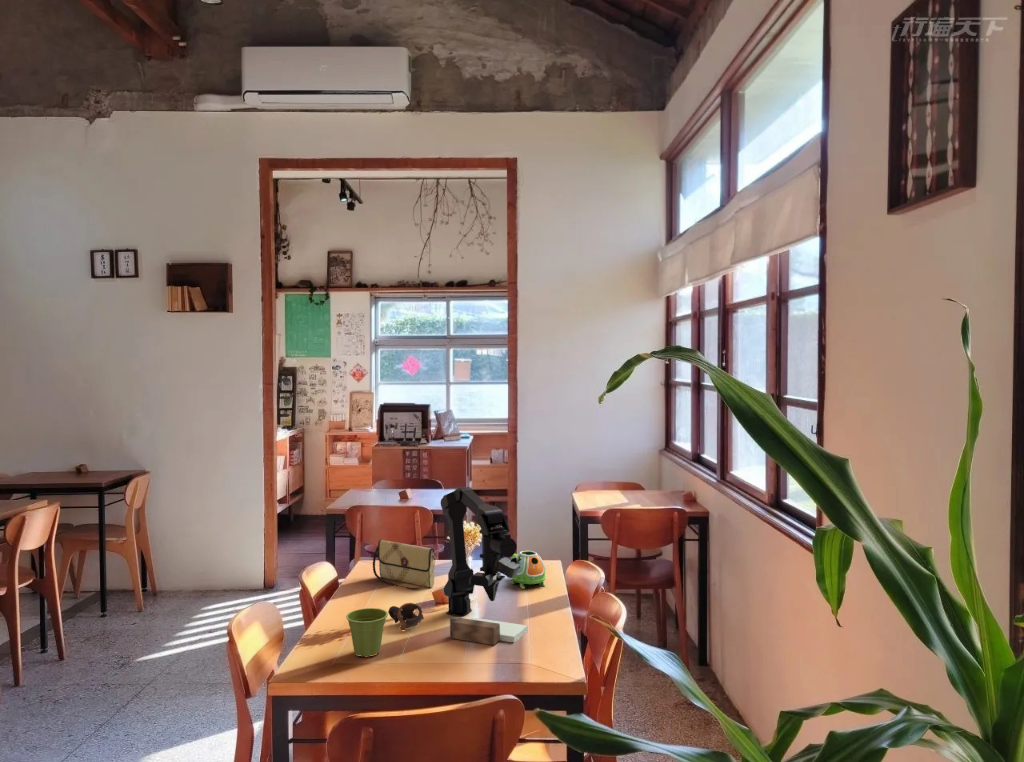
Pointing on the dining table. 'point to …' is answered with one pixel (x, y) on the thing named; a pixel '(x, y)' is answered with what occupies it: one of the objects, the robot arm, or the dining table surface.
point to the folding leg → (474, 630)
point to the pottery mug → (406, 615)
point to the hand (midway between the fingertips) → (492, 600)
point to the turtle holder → (529, 569)
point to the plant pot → (367, 630)
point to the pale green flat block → (508, 630)
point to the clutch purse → (405, 563)
